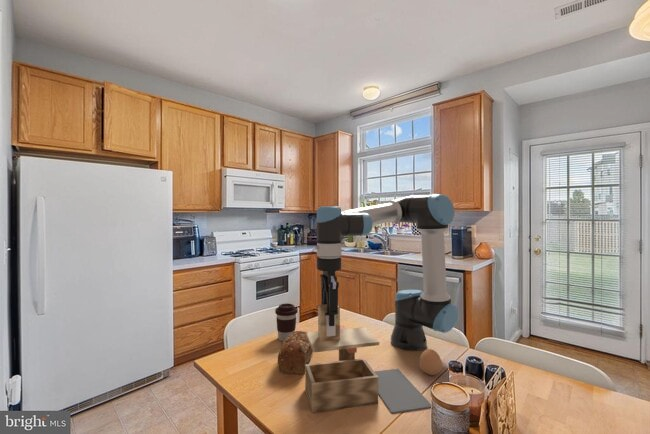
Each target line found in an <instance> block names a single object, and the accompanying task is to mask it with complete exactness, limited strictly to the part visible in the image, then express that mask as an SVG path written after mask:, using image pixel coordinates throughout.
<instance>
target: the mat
mask: <svg viewBox="0 0 650 434" xmlns="http://www.w3.org/2000/svg"><path fill="white" fill-rule="evenodd" d="M373 371H374V372H375V373H376V375H377V376H378V397H379V398H380V399H381V400H382V402H383V403H384V404H385V406H386V407H387V409H388V410H389V412H390V413H391V414H399V413H405V412H411V411H419V410H425V409H430V408H431V405H432V404H431V402H430V401H429V400H428V399H427V398H426V397H425V396H424V395H423V394H422V392H421V391H420V390H419V389H418V388H417V387H416V386H415V385H414V384H413V383H412V382H411V380H409V379H408V378H407V377H406V375H405V374H404V373H403V372H402V371H401V370H400V369H399V368H393V369H392V368H391V369H382V370H377V371H375V370H373ZM431 409H432V408H431Z"/></svg>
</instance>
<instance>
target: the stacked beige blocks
mask: <svg viewBox="0 0 650 434" xmlns="http://www.w3.org/2000/svg"><path fill="white" fill-rule="evenodd" d="M340 311H341V307H340V306H339V305H338V314H337V315H336V336H328V337H327V336H326V315H325V313H327V304H325V305H322V304H318V305H317V326H318V327H317V329H318V330H317V331H309V332H308V333H306V336H307V338H308V341H309V343H310V345H311V348H312V350H313V353H321V352H322V353H323V352H332V351H339V350H341V349H350V348H357V349H358V348H365V347H374V346H380V341H379V340H378V339H377V338H376V337H375V336H374V335H373V334H372V332H371V331H369V329H367V327H365V326H363V327H362V326H361V327H351V328H346V329H340V326H341V312H340ZM313 353H312V354H313Z"/></svg>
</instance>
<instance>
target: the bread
mask: <svg viewBox="0 0 650 434" xmlns="http://www.w3.org/2000/svg"><path fill="white" fill-rule="evenodd" d="M306 333H308V332H307V331H302V330H295V332H294V333H292V334H290V335H288V336H287V337H286V339H285V341H282V343H281V346H280V348H279V350H278V354H277V365H278V372H279V373H282V374H286V375H294V376H295V375H296V376H303V375H304V374H305V364H310V363H311V359H312V356H313V350H312V348H311V345H310V343H309V341H308V338H307V336H306Z"/></svg>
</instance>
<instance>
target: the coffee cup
mask: <svg viewBox="0 0 650 434" xmlns="http://www.w3.org/2000/svg"><path fill="white" fill-rule="evenodd" d="M274 312H275V315H276V318H275V319H276V330H277V340H279V341H280V342H284V341H285V339H286V337H287V336H288V335H290V334H292V333H294V332H295V331H296V326H297V314H298V308H297V307H295V305H294V304H293V303H281V304H279V305H278V307H276V308H275V310H274Z"/></svg>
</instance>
